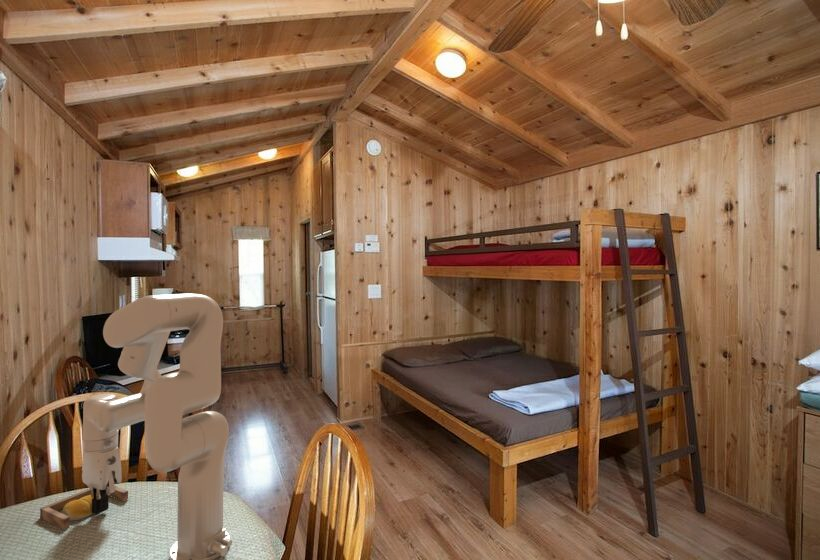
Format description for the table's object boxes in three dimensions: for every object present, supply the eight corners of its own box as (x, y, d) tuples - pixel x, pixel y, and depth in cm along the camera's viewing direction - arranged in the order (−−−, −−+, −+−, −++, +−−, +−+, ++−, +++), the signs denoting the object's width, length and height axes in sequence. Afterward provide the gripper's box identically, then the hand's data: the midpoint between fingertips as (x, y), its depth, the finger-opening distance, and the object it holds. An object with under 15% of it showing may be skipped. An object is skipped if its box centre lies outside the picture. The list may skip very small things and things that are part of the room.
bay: (128, 499, 117) (128, 490, 117) (63, 529, 103) (63, 519, 103) (104, 490, 122) (104, 482, 122) (40, 517, 108) (40, 508, 108)
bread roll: (110, 508, 113) (110, 493, 113) (71, 525, 105) (72, 509, 105) (94, 500, 117) (94, 486, 117) (56, 516, 109) (56, 500, 109)
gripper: (132, 442, 110) (132, 511, 110) (99, 432, 116) (99, 497, 116) (102, 453, 103) (101, 526, 103) (68, 442, 109) (68, 511, 109)
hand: (100, 511), depth 110 cm, fingers closed
